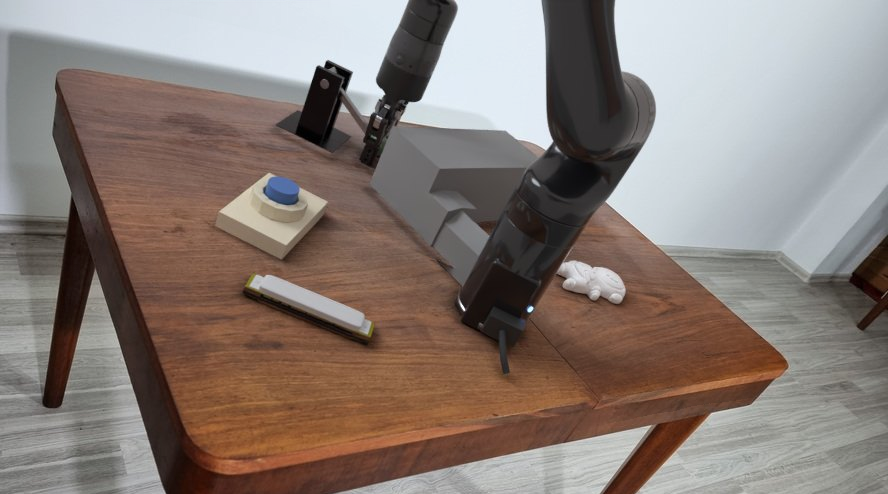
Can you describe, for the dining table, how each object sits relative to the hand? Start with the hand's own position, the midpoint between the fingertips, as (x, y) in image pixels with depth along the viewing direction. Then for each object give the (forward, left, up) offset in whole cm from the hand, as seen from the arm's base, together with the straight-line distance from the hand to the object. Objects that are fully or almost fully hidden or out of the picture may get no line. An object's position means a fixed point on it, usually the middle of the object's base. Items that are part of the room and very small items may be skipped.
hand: (368, 161), depth 113 cm
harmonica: (-42, -7, -1) cm, 43 cm away
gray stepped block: (-5, -20, -1) cm, 20 cm away
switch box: (-28, +4, -1) cm, 28 cm away
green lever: (0, +6, +5) cm, 7 cm away
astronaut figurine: (-4, -39, -1) cm, 39 cm away
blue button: (-28, +4, +3) cm, 28 cm away
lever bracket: (0, +10, -1) cm, 10 cm away
